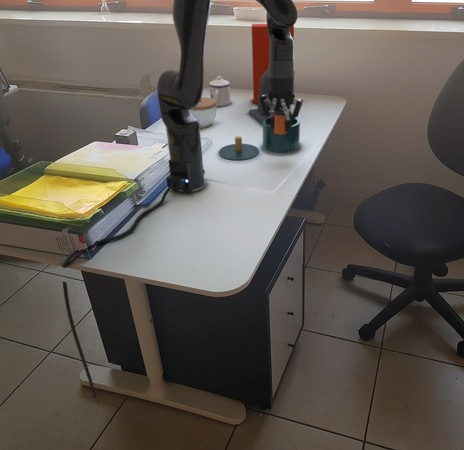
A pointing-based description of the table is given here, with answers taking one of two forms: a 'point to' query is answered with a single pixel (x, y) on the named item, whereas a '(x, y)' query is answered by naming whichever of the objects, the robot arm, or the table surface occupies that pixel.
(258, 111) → the faucet
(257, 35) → the file binder
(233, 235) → the table surface
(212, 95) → the teacup with lid
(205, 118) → the lidded bowl
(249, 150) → the tin lid
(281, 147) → the tin
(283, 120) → the glue stick
